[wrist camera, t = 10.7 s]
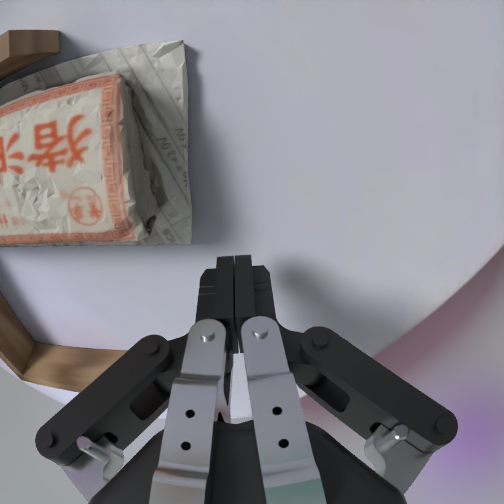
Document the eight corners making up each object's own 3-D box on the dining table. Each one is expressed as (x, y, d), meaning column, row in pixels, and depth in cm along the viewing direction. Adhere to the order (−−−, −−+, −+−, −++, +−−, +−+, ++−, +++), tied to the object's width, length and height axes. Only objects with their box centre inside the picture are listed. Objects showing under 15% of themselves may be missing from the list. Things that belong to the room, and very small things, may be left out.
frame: (59, 30, 8) (8, 30, 5) (152, 359, 23) (146, 400, 19) (-72, 116, 8) (-107, 137, 4) (33, 348, 22) (21, 379, 19)
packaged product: (-53, 278, 11) (-99, 144, 5) (-20, 238, 15) (-52, 117, 9) (186, 290, 12) (167, 26, 6) (196, 229, 16) (190, 40, 10)
